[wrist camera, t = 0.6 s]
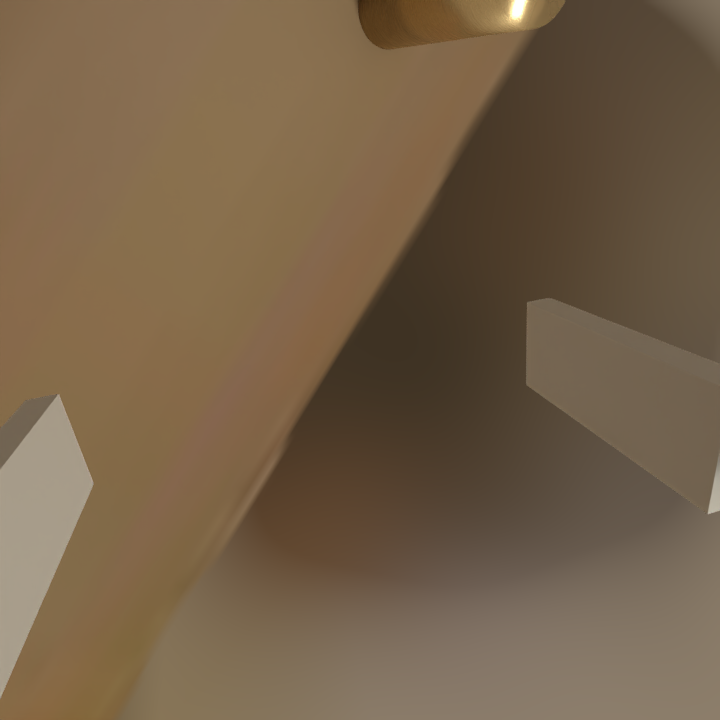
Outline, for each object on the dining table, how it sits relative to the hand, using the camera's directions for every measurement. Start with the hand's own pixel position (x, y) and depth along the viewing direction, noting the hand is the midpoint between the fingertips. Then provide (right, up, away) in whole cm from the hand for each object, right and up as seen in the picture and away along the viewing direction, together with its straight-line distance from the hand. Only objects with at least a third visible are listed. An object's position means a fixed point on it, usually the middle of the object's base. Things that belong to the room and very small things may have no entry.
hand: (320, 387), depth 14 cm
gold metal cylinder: (+3, +24, +19) cm, 31 cm away
